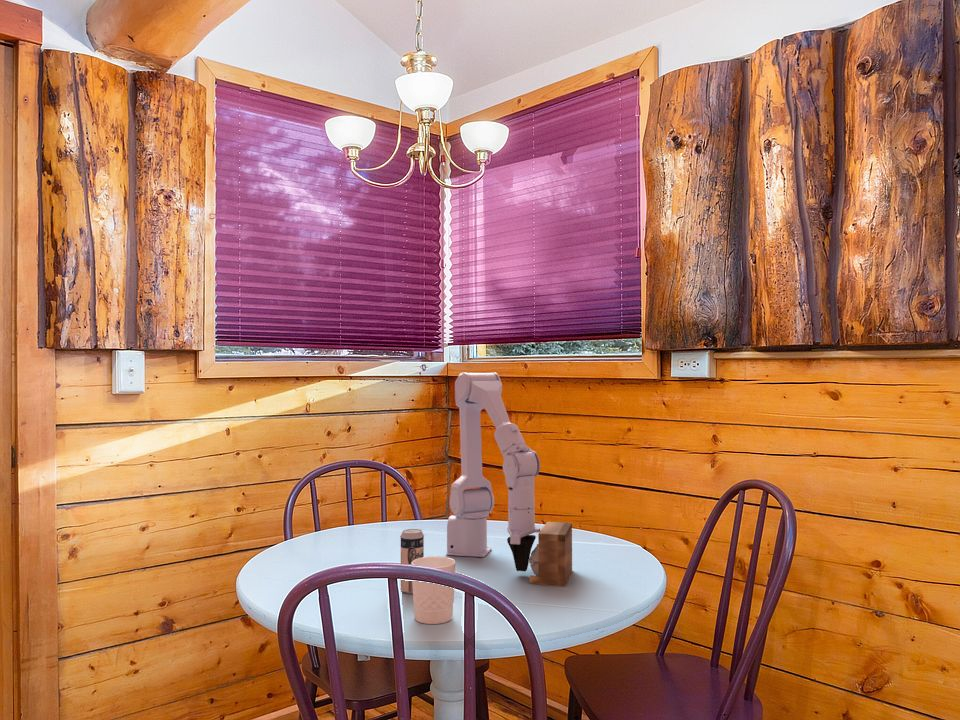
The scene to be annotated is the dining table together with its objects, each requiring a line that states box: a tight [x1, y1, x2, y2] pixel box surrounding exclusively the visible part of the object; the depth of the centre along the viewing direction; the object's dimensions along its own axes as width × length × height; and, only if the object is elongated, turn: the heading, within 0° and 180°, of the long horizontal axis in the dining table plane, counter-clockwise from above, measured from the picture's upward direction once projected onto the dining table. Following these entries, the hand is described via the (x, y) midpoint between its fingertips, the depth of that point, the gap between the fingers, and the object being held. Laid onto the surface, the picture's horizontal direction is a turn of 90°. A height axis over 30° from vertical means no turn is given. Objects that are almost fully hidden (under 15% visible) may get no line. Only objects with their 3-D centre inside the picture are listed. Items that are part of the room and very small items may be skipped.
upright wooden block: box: [529, 521, 573, 587], centre depth 152 cm, size 8×12×10 cm, turn 166°
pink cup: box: [411, 555, 456, 625], centre depth 127 cm, size 8×8×10 cm
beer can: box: [399, 528, 425, 595], centre depth 143 cm, size 5×5×12 cm
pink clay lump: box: [528, 543, 539, 576], centre depth 152 cm, size 6×7×7 cm
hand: (521, 570), depth 153 cm, fingers closed, pressing on pink clay lump
